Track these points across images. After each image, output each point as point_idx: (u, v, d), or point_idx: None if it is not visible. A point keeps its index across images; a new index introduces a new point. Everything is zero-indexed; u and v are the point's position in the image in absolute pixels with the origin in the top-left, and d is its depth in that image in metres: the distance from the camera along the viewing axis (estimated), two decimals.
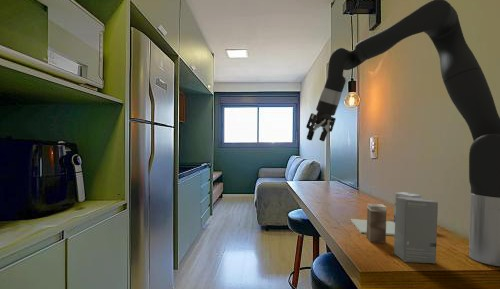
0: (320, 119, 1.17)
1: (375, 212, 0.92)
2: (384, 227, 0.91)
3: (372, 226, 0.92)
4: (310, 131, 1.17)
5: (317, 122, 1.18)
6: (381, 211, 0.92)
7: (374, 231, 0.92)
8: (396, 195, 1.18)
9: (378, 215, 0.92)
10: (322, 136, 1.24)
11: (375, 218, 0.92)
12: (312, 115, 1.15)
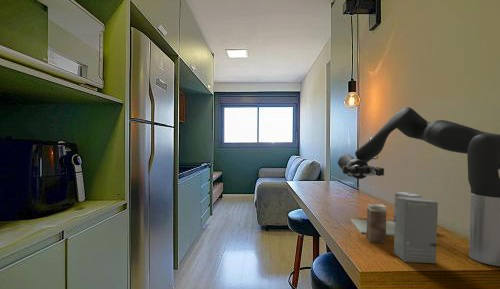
0: None
1: (375, 212, 0.92)
2: (384, 227, 0.91)
3: (372, 226, 0.92)
4: (349, 170, 1.10)
5: None
6: (381, 211, 0.92)
7: (374, 231, 0.92)
8: (396, 195, 1.18)
9: (378, 215, 0.92)
10: (377, 172, 1.07)
11: (375, 218, 0.92)
12: (342, 169, 1.16)
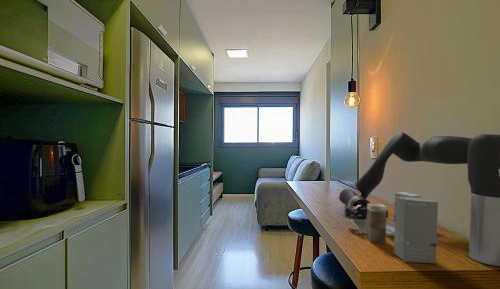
0: None
1: (375, 212, 0.92)
2: (384, 227, 0.91)
3: (372, 226, 0.92)
4: (351, 212, 1.05)
5: None
6: (381, 211, 0.92)
7: (374, 231, 0.92)
8: (396, 195, 1.18)
9: (378, 215, 0.92)
10: None
11: (375, 218, 0.92)
12: (344, 209, 1.12)
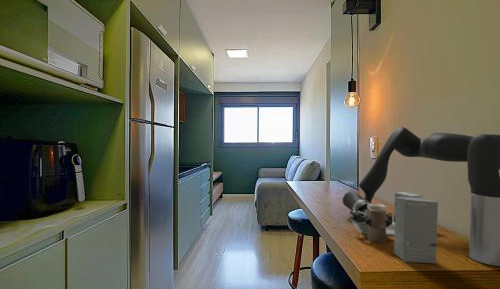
0: (362, 212, 1.01)
1: (375, 212, 0.92)
2: (384, 227, 0.91)
3: (372, 226, 0.92)
4: (363, 219, 0.95)
5: None
6: (381, 211, 0.92)
7: (374, 231, 0.92)
8: (396, 195, 1.18)
9: (378, 215, 0.92)
10: None
11: (375, 218, 0.92)
12: (350, 215, 1.01)
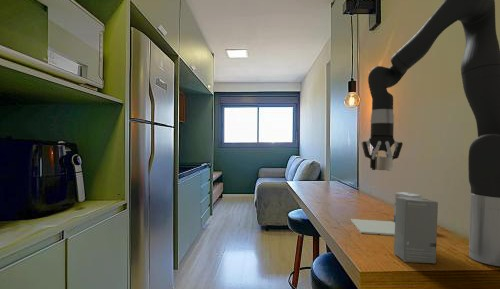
0: (374, 144, 1.08)
1: None
2: None
3: None
4: (370, 160, 1.08)
5: None
6: None
7: None
8: (396, 195, 1.18)
9: None
10: None
11: None
12: (362, 143, 1.09)
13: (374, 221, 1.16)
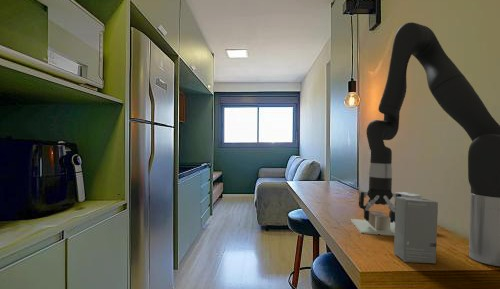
0: (371, 196, 1.07)
1: None
2: None
3: None
4: (364, 210, 1.09)
5: (371, 200, 1.08)
6: None
7: None
8: None
9: None
10: (390, 216, 1.08)
11: None
12: (359, 193, 1.09)
13: None
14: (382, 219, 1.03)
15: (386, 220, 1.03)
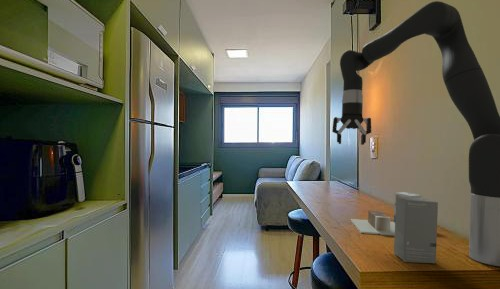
0: (344, 121, 1.17)
1: None
2: None
3: None
4: (337, 134, 1.18)
5: (344, 125, 1.18)
6: None
7: None
8: (396, 195, 1.18)
9: None
10: (361, 139, 1.17)
11: None
12: (333, 119, 1.19)
13: None
14: (382, 219, 1.03)
15: (386, 220, 1.03)
